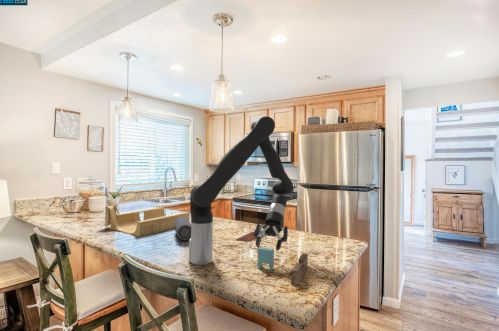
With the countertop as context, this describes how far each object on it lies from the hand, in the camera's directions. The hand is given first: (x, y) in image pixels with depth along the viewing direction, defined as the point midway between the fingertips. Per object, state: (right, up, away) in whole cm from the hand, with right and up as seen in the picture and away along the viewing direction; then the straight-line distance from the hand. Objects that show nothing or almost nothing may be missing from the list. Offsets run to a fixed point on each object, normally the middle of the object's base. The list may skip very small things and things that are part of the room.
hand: (267, 248), depth 109 cm
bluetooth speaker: (-46, -8, +44) cm, 64 cm away
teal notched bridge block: (-1, -8, -1) cm, 8 cm away
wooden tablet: (-5, -9, +48) cm, 49 cm away
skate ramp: (-75, -8, +70) cm, 103 cm away
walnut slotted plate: (+12, -8, -7) cm, 16 cm away
